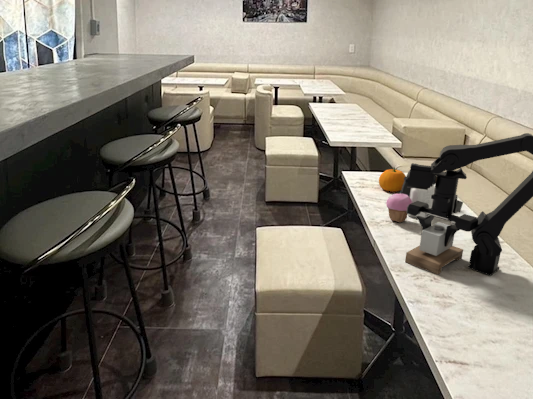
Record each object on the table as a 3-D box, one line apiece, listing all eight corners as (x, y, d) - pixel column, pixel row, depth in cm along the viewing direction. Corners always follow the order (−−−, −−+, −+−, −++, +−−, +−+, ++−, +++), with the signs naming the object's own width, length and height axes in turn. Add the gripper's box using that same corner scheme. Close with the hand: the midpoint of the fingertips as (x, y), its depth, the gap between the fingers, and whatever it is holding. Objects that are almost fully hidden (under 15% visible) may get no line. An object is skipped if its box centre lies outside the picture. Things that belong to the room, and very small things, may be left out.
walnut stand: (461, 258, 138) (463, 249, 137) (437, 274, 128) (439, 264, 127) (430, 247, 145) (431, 238, 144) (405, 262, 135) (406, 252, 134)
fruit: (376, 191, 197) (379, 169, 194) (379, 184, 208) (381, 162, 204) (405, 195, 194) (408, 172, 190) (406, 187, 204) (409, 165, 201)
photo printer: (423, 210, 177) (428, 179, 173) (432, 214, 174) (437, 182, 170) (404, 215, 172) (409, 183, 168) (414, 219, 168) (419, 186, 164)
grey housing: (436, 255, 130) (439, 234, 128) (419, 249, 134) (422, 228, 131) (452, 246, 137) (456, 225, 135) (435, 240, 140) (438, 220, 138)
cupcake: (413, 220, 167) (417, 193, 164) (405, 227, 160) (409, 199, 157) (389, 214, 172) (392, 188, 168) (380, 221, 165) (383, 194, 162)
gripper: (490, 194, 129) (480, 245, 134) (427, 178, 141) (420, 226, 146) (474, 202, 121) (463, 257, 126) (409, 185, 134) (402, 236, 139)
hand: (436, 243), depth 135 cm, fingers closed on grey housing, 5 cm apart
